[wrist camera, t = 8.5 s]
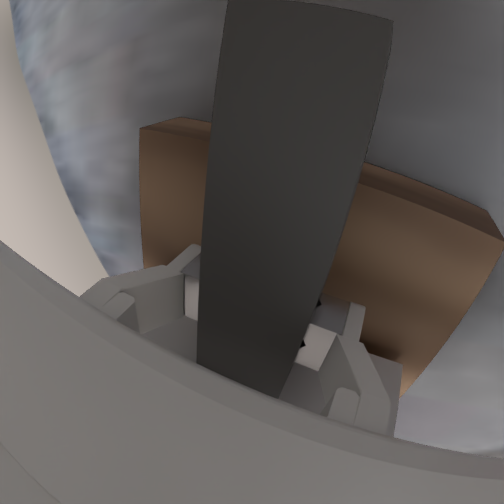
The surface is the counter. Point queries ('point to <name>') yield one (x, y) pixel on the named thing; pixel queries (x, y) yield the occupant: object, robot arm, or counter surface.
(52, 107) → the counter surface
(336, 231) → the scraper
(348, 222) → the board
